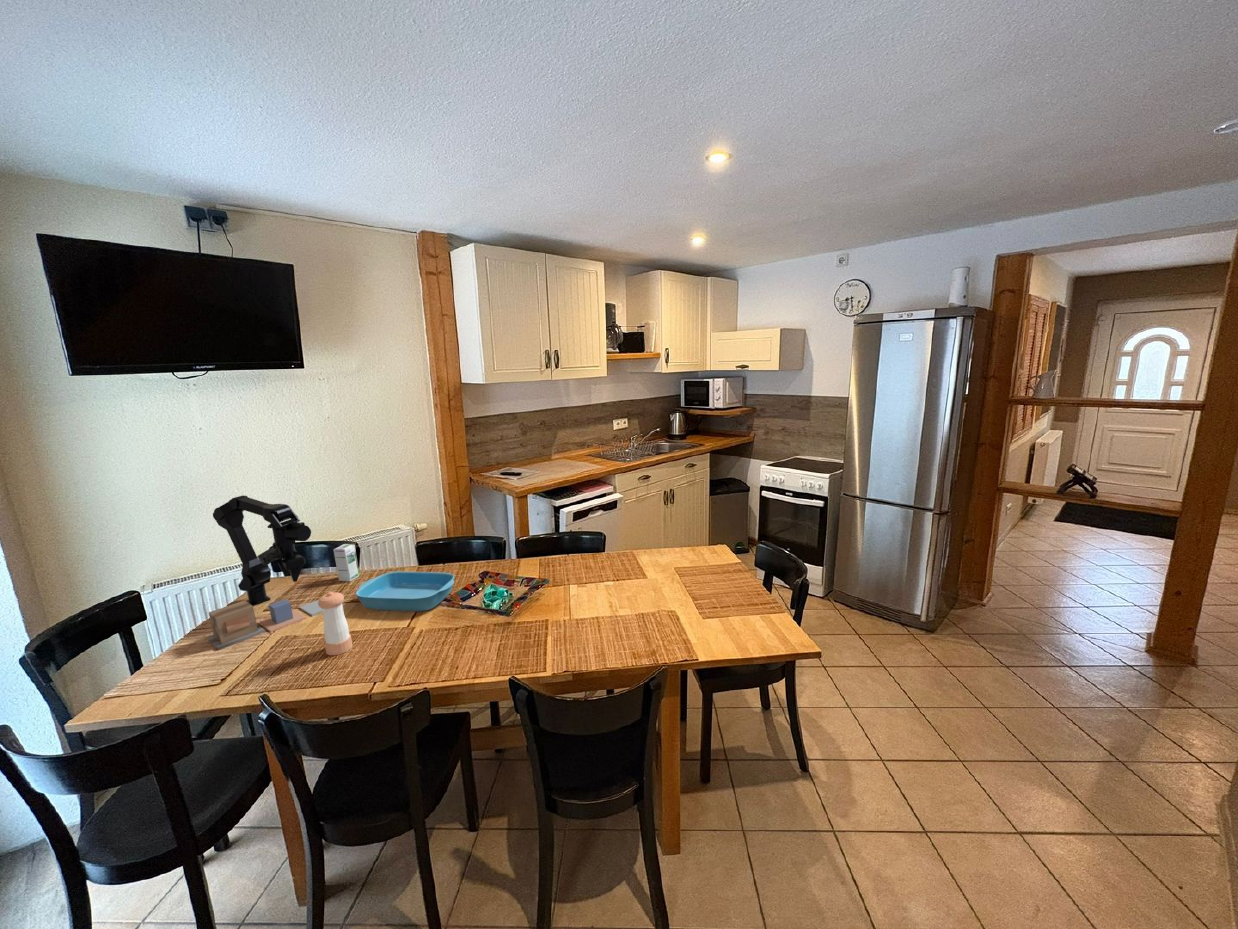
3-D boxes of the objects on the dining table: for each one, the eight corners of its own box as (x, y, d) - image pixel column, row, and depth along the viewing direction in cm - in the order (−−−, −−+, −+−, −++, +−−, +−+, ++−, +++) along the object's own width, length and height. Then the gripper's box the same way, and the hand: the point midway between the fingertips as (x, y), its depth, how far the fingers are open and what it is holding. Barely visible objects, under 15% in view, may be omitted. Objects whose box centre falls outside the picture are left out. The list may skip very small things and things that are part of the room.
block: (271, 620, 175) (268, 604, 173) (287, 614, 179) (284, 599, 177) (277, 624, 172) (274, 608, 171) (293, 618, 176) (290, 602, 174)
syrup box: (350, 581, 206) (345, 549, 203) (338, 581, 207) (333, 548, 204) (360, 576, 212) (355, 544, 209) (348, 575, 213) (343, 543, 210)
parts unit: (207, 640, 164) (201, 613, 163) (253, 623, 175) (248, 597, 173) (218, 650, 158) (211, 622, 156) (265, 632, 168) (259, 605, 166)
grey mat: (299, 608, 184) (299, 606, 184) (330, 596, 193) (330, 595, 193) (312, 616, 178) (311, 614, 178) (343, 603, 186) (343, 602, 186)
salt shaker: (334, 658, 151) (323, 600, 147) (321, 651, 154) (311, 594, 151) (357, 646, 157) (348, 590, 153) (344, 640, 160) (335, 585, 157)
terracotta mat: (259, 623, 174) (258, 622, 174) (293, 610, 183) (293, 609, 183) (270, 632, 168) (270, 630, 168) (306, 618, 176) (305, 617, 176)
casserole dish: (345, 612, 180) (341, 594, 178) (384, 585, 201) (381, 569, 200) (437, 617, 173) (434, 599, 172) (467, 589, 194) (465, 572, 193)
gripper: (249, 540, 181) (257, 580, 185) (266, 551, 170) (274, 593, 173) (284, 532, 190) (290, 570, 193) (302, 541, 178) (309, 582, 182)
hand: (290, 578), depth 185 cm, fingers open, 9 cm apart
